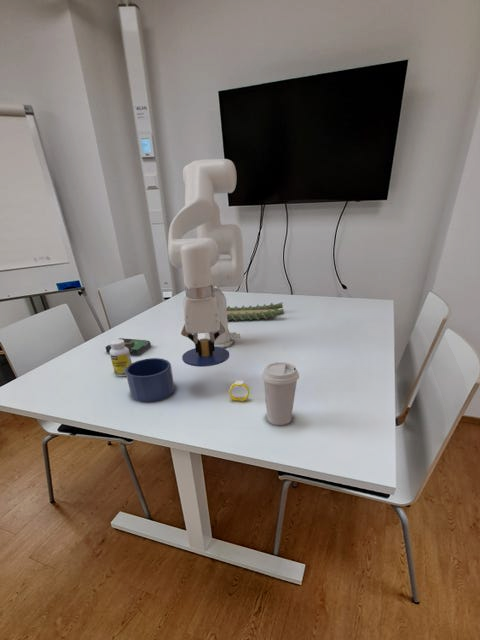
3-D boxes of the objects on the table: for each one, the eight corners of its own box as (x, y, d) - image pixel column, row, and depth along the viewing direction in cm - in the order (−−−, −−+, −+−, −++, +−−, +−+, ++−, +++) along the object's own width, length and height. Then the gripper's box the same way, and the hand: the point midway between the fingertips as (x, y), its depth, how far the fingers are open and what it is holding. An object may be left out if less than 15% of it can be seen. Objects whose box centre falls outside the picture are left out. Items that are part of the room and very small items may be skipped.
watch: (229, 402, 106) (227, 384, 103) (230, 397, 109) (228, 380, 105) (249, 402, 106) (248, 384, 102) (249, 397, 108) (249, 380, 105)
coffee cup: (287, 432, 92) (289, 380, 84) (255, 422, 97) (254, 372, 88) (302, 414, 99) (305, 364, 90) (272, 406, 103) (272, 358, 95)
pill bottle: (111, 375, 125) (102, 344, 119) (122, 368, 130) (115, 337, 124) (126, 377, 123) (118, 346, 117) (137, 370, 128) (130, 339, 122)
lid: (228, 348, 117) (227, 330, 113) (231, 366, 105) (229, 347, 101) (183, 351, 116) (181, 333, 113) (181, 370, 104) (178, 350, 101)
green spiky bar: (282, 311, 178) (282, 301, 176) (284, 320, 166) (284, 309, 164) (202, 314, 181) (201, 304, 178) (198, 323, 169) (197, 313, 166)
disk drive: (106, 353, 143) (138, 356, 139) (104, 347, 141) (137, 349, 137) (120, 344, 151) (151, 346, 147) (119, 337, 149) (150, 339, 145)
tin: (175, 380, 120) (171, 356, 115) (172, 400, 109) (168, 375, 104) (135, 383, 119) (129, 359, 115) (128, 403, 108) (121, 378, 103)
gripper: (227, 286, 103) (231, 347, 113) (170, 290, 102) (179, 351, 112) (229, 293, 97) (233, 356, 107) (168, 297, 96) (178, 360, 106)
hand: (205, 353), depth 109 cm, fingers closed on lid, 3 cm apart
